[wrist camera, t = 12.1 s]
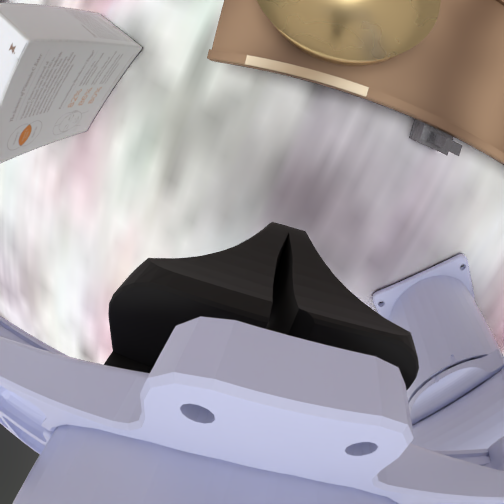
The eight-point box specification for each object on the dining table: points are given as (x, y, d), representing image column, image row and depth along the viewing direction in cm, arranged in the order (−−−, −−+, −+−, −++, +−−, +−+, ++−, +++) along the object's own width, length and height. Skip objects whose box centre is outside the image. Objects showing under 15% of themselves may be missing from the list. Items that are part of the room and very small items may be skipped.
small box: (100, 12, 16) (-12, -3, 7) (146, 48, 17) (29, 37, 8) (49, 94, 19) (-56, 120, 10) (87, 133, 21) (-22, 175, 11)
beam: (599, 95, 8) (612, 98, 7) (568, 210, 13) (581, 220, 12) (256, -78, 10) (250, -91, 8) (216, 61, 15) (206, 58, 13)
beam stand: (472, -9, 11) (503, -24, 7) (435, 149, 17) (464, 165, 13) (446, -23, 11) (474, -43, 7) (409, 137, 17) (433, 150, 13)
